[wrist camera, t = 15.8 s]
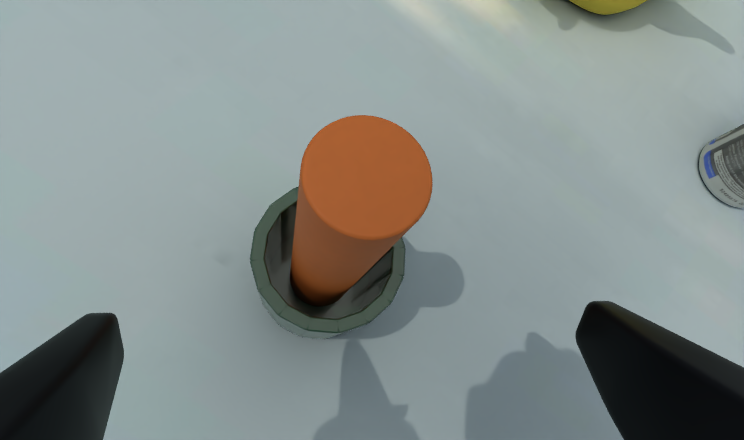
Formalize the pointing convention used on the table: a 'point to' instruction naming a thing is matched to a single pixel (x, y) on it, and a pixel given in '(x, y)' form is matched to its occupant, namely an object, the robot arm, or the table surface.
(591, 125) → the table surface
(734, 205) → the pill bottle
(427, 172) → the orange cylindrical rod
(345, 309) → the green cylindrical container
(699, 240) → the table surface
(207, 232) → the table surface
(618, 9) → the teapot
